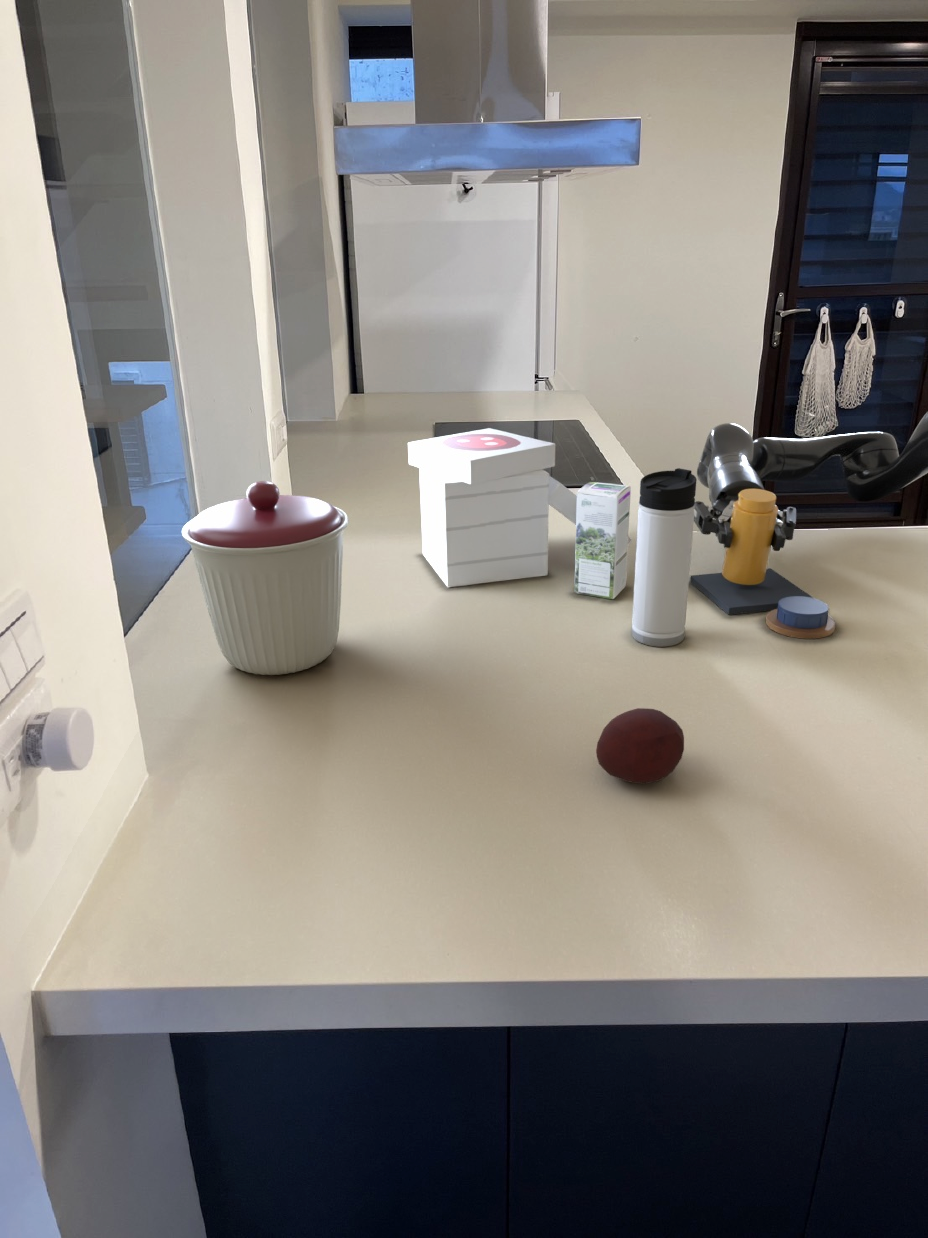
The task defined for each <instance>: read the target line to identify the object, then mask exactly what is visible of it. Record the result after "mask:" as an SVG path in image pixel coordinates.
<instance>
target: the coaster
mask: <svg viewBox="0 0 928 1238" xmlns="http://www.w3.org/2000/svg"><path fill="white" fill-rule="evenodd" d="M777 609H778V608H777ZM777 609H774V610H772V611H768V612H767V614H766V617H765V624H766V626H767V627H768V628H769V629H770V630H772V631H773V632H775V633H777V634H780V635H783V636H787V637H791V638H795V639H806V640H809V639H810V640H812V639H822V638H825V637H828V636H831V635H832V634H833V633H834V632H835V630H836V629H835V628H836V621H835V619H834V618H833V617H832V616H830V614H828V619H827V624H826V625H824V626H822V627H820V628H814V629H803V628H795V627H791V626H788V625H785V624H783V623H781V622H780V621H779V620H778V619H777Z"/></svg>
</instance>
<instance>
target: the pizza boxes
mask: <svg viewBox="0 0 928 1238" xmlns="http://www.w3.org/2000/svg"><path fill="white" fill-rule="evenodd" d="M407 454H408V465H409V466H412V467H415V468H418V472H419V474H418V475H419V494H420V519H421V543H422V555H423V556H424V558H425V559H426V561H427V562H428V563H429V564H430V566H431V567H432V568H433V570H434V571H435V573H436V575H438V576H439V578H440V580H442V582H443V584H445V586H446V587H447V588H454V587H462V586H470V585H479V584H486V583H494V582H501V581H510V580H518V579H526V578H534V577H535V578H536V577H542V576H543V577H544V576H548V572H549V571H548V570H549V511H550V510H549V507H551V508H553V509H554V510H555V511H557V512H558V513H560V514H561V515H562V516H563V517H565V519H567V520H568V521H570V522H571V523H573V524H574V525H575V526H576V513H577V494H575V492H573V491H571V490H570V489H569V488H567V487H566V486H565V485H564V484H562V483H561V482H560V481H558V480H557V479H556V478H554V477H552V476H551V475H550V473H549V472H548V471H546V470H544V469H549V468H554V467H555V466H556V443H554V442H550V441H546V440H541V439H538V438H537V439H536V438H532V437H528V436H524V435H521V434H517V433H512V432H508V431H504V430H499V429H495V428H491V427H487V428H483V429H477V430H471V431H466V432H459V433H455V434H448V435H442V436H437V437H431V438H425V439H420V440H413V441H409V442H407ZM632 541H633V539H632V538H631V537H630V536H628V545H630V543H631V542H632Z"/></svg>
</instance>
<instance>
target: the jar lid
mask: <svg viewBox="0 0 928 1238" xmlns="http://www.w3.org/2000/svg"><path fill="white" fill-rule="evenodd" d="M814 598H815V597H813V598H810V597H803V596H791V597H786V598H783V599H781V600H779V602H778V609H777V619H778V620H779V621H780V622H781V623H783V624H785V625H788V626H791V627H795V628H803V629H814V628H820V627H822V626H824V625H826V624H827V619H828V615H829V610H830V608H829V607H830V606H829V605H828V604H827V603H826V602H824V601H822V600H821V599H818V598H815V599H814Z"/></svg>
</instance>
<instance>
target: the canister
mask: <svg viewBox="0 0 928 1238" xmlns="http://www.w3.org/2000/svg"><path fill="white" fill-rule="evenodd" d="M349 521H350V520H349V515H348V514H347V513H346V512H345V511H344V510H342V509H340V508H339V507H336V506H334V505H332V504H331V503H329V502H328V501H325V500H322V499H320V498H319V499H318V498H316V497H311V496H306V495H294V494H293V495H292V494H281V493H280V489H279V487H278V485H276V484H275V483H273V482H272V481H269V480H259V481H256V482H253V483H252V484H251V485H249V486H248V488H247V489H246V497H242V498H237V499H232V500H229V501H225V502H222V503H218V504H215V505H213V506H210V507H208V508H207V509H205V510H202V511H201V512H200V513H199V514H197V516H195V517H194V518H192V519H191V520H189V521H188V522H187V523H186V524H185V525H184V526H183V527H182V529H181V535H182V538H183V540H184V541H185V542H186V543H187V544H189V545H190V548H191V552H192V555H193V560H194V564H195V567H196V571H197V575H198V579H199V581H200V586H201V590H202V593H203V597H204V601H205V605H206V608H207V611H208V612H207V613H208V616H209V618H210V622H211V625H212V628H213V631H214V632H213V633H214V636H215V639H216V641H217V644H218V647H219V650H220V652H221V654H222V655H223V657H224V658H225V660H226V661H227V662H228V663H229V664H230V665H231V666H233V667H234V668H235V669H238V670H240V671H242V672H246V673H248V674H254V675H262V676H274V675H275V676H276V675H277V676H280V675H288V674H294V673H297V672H303V671H305V670H307V669H310V668H312V667H314V666H317V665H318V664H321V663H322V662H323V661H325V660H326V659H327V658H328V657H329V656H330V655H331V654H332V652H333V651H334V648H335V647H336V645H337V642H338V637H339V633H340V623H341V622H340V619H341V605H342V584H343V583H342V582H343V557H344V556H343V555H344V553H343V552H344V531H345V530H346V529H347V527H348V525H349Z"/></svg>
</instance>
